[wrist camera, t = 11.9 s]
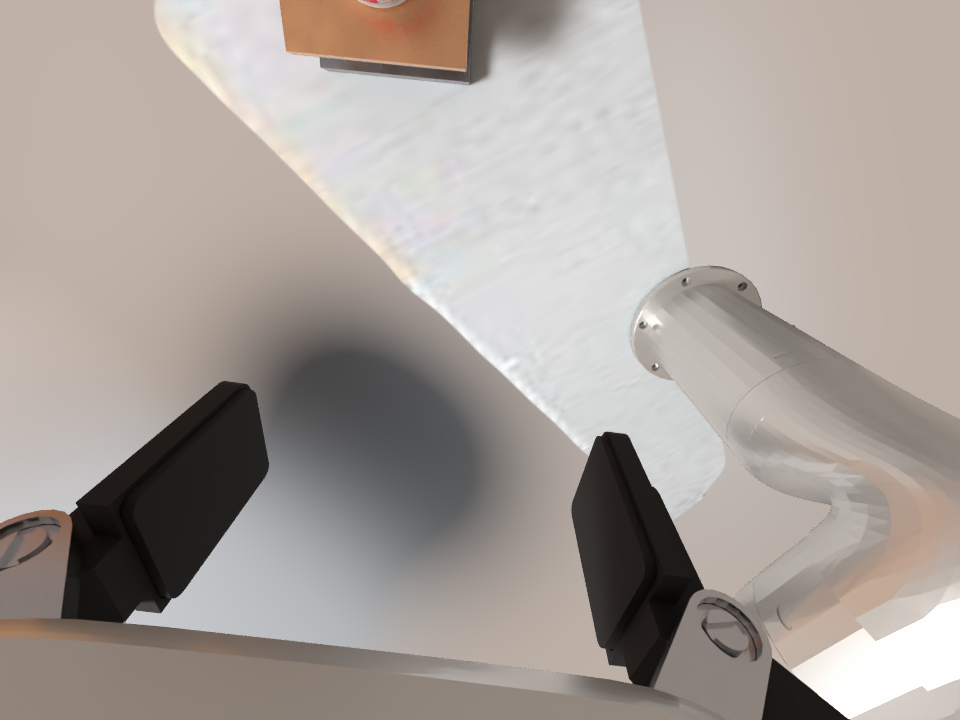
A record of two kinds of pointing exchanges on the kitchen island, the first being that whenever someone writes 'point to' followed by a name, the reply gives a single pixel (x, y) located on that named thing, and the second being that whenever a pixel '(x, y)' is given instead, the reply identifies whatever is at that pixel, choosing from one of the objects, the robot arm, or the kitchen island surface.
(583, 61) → the kitchen island surface
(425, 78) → the stand
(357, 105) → the kitchen island surface
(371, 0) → the pill bottle
